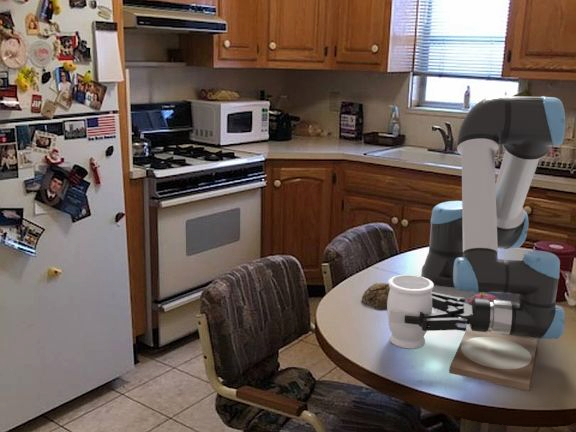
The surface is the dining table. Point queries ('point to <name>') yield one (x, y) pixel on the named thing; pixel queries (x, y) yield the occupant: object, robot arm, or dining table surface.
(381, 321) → the dining table surface
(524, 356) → the board
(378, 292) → the bread roll
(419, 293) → the jar
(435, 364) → the dining table surface
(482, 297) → the cupcake
